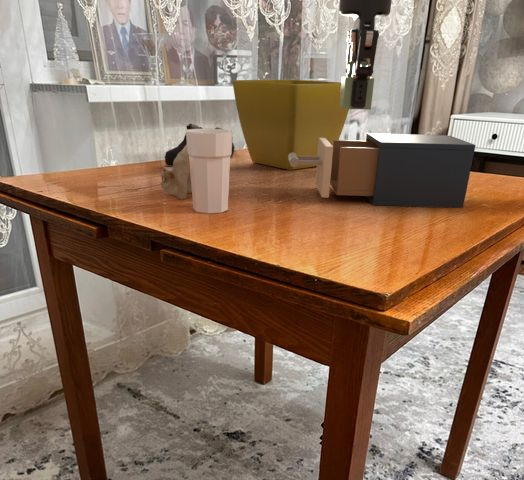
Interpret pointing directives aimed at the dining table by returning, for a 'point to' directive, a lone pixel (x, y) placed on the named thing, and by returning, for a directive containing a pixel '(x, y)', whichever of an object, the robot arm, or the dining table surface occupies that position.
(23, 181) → the dining table surface
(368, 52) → the robot arm
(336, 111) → the flower pot
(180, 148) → the game controller
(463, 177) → the cabinet
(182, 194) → the beige rough lump
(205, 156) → the cup
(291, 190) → the dining table surface
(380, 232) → the dining table surface
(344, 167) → the drawer
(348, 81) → the block
